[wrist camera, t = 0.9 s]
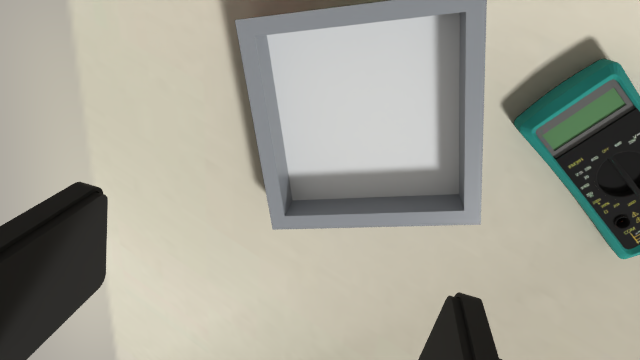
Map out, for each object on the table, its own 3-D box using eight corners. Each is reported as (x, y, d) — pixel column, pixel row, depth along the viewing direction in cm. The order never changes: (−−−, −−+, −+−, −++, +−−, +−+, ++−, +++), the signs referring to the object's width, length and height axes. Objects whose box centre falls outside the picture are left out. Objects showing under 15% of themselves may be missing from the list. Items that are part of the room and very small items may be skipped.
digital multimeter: (612, 250, 36) (630, 271, 33) (507, 118, 33) (517, 128, 30) (705, 201, 33) (733, 219, 30) (599, 52, 30) (619, 57, 27)
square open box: (476, -11, 29) (486, -12, 26) (472, 203, 36) (480, 224, 32) (251, 17, 33) (234, 20, 29) (283, 209, 39) (272, 229, 35)
